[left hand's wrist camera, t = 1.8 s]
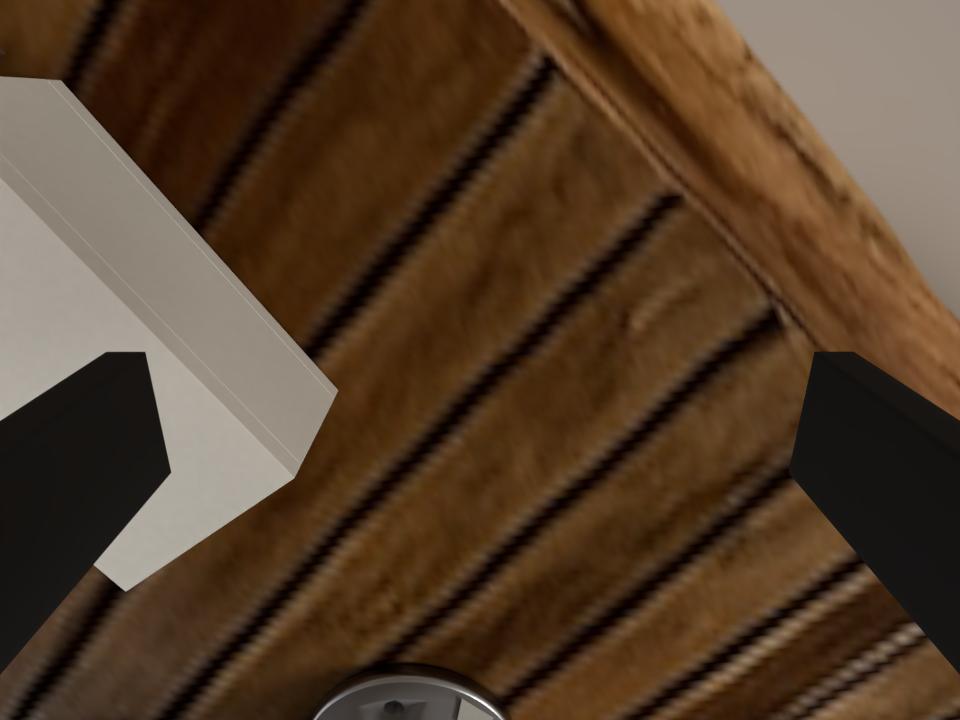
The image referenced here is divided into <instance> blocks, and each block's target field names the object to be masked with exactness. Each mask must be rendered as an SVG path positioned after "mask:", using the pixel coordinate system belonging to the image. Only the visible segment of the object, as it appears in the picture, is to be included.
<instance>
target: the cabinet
mask: <svg viewBox="0 0 960 720" xmlns="http://www.w3.org/2000/svg"><path fill="white" fill-rule="evenodd" d="M105 352H146V357H147V362H148V366H149V371H150V376H151V380H152V385H153V390H154V394H155V399H156V403H157V408H158V413H159V417H160V422H161V427H162V431H163V436H164V441H165V445H166V450H167V454H168V459H169V464H170V468H171V474H170V475H169V476H168V477H167V478H166V480H165V481H164V482H163V483H162V484H161V486H160V487H159V488H158V489H157V490H156V491H155V493H154V494H153V495H152V496H151V497H150V498H149V500H148V501H147V502H146V503H145V504H144V506H143V507H142V508H141V509H140V510H139V511H138V513H137V514H136V515H135V516H134V517H133V519H132V520H131V521H130V522H129V523H128V524H127V526H126V527H125V528H124V529H123V530H122V532H121V533H120V534H119V535H118V536H117V537H116V539H115V540H114V541H113V542H112V543H111V544H110V546H109V547H108V548H107V549H106V550H105V552H104V553H103V554H102V555H101V556H100V557H99V559H98V560H97V561H96V562H95V563H94V566H96V567H97V568H98V569H99V570H100V571H102V572H103V573H104V574H105V575H106V576H108V577H109V578H110V579H111V580H112V581H114V582H115V583H116V584H117V585H118V586H120V587H121V588H122V589H123V590H124V591H127V590H129V589H130V588H132V587H133V586H135V585H136V584H138V583H139V582H141V581H142V580H144V579H145V578H147V577H148V576H150V575H151V574H153V573H154V572H156V571H157V570H159V569H160V568H162V567H163V566H165V565H166V564H168V563H169V562H171V561H172V560H173V559H175V558H176V557H178V556H179V555H181V554H182V553H184V552H185V551H187V550H188V549H190V548H191V547H193V546H194V545H196V544H197V543H199V542H200V541H202V540H203V539H205V538H206V537H208V536H209V535H211V534H212V533H214V532H215V531H217V530H218V529H219V528H221V527H222V526H224V525H225V524H227V523H228V522H230V521H231V520H233V519H234V518H236V517H237V516H239V515H240V514H242V513H243V512H245V511H246V510H248V509H249V508H251V507H252V506H254V505H255V504H257V503H258V502H260V501H261V500H263V499H264V498H265V497H267V496H268V495H270V494H271V493H273V492H274V491H276V490H277V489H279V488H280V487H282V486H283V485H285V484H286V483H288V482H289V481H291V480H292V479H294V478H295V476H296V474H297V472H298V470H299V468H300V466H301V464H302V462H303V460H304V458H305V456H306V454H307V452H308V450H309V448H310V446H311V444H312V442H313V440H314V438H315V436H316V434H317V432H318V430H319V428H320V426H321V424H322V422H323V420H324V418H325V416H326V414H327V412H328V410H329V408H330V406H331V404H332V402H333V400H334V398H335V396H336V394H337V392H338V390H337V388H336V387H335V386H334V385H333V384H332V383H331V382H330V381H329V379H328V378H327V377H326V376H325V375H324V374H323V373H322V372H321V371H320V369H319V368H318V367H317V366H316V365H315V364H314V363H313V362H312V360H311V359H310V358H309V357H308V356H307V355H306V354H305V353H304V352H303V350H302V349H301V348H300V347H299V346H298V345H297V344H296V343H295V341H294V340H293V339H292V338H291V337H290V336H289V335H288V334H287V333H286V331H285V330H284V329H283V328H282V327H281V326H280V325H279V324H278V322H277V321H276V320H275V319H274V318H273V317H272V316H271V315H270V314H269V312H268V311H267V310H266V309H265V308H264V307H263V306H262V305H261V303H260V302H259V301H258V300H257V299H256V298H255V297H254V296H253V295H252V293H251V292H250V291H249V290H248V289H247V288H246V287H245V286H244V284H243V283H242V282H241V281H240V280H239V279H238V278H237V277H236V276H235V274H234V273H233V272H232V271H231V270H230V269H229V268H228V267H227V265H226V264H225V263H224V262H223V261H222V260H221V259H220V258H219V257H218V255H217V254H216V253H215V252H214V251H213V250H212V249H211V248H210V246H209V245H208V244H207V243H206V242H205V241H204V240H203V239H202V238H201V236H200V235H199V234H198V233H197V232H196V231H195V230H194V229H193V227H192V226H191V225H190V224H189V223H188V222H187V221H186V220H185V219H184V217H183V216H182V215H181V214H180V213H179V212H178V211H177V210H176V208H175V207H174V206H173V205H172V204H171V203H170V202H169V201H168V200H167V198H166V197H165V196H164V195H163V194H162V193H161V192H160V191H159V189H158V188H157V187H156V186H155V185H154V184H153V183H152V182H151V181H150V179H149V178H148V177H147V176H146V175H145V174H144V173H143V172H142V170H141V169H140V168H139V167H138V166H137V165H136V164H135V163H134V162H133V160H132V159H131V158H130V157H129V156H128V155H127V154H126V153H125V151H124V150H123V149H122V148H121V147H120V146H119V145H118V144H117V143H116V141H115V140H114V139H113V138H112V137H111V136H110V135H109V134H108V132H107V131H106V130H105V129H104V128H103V127H102V126H101V125H100V124H99V122H98V121H97V120H96V119H95V118H94V117H93V116H92V115H91V113H90V112H89V111H88V110H87V109H86V108H85V107H84V106H83V105H82V103H81V102H80V101H79V100H78V99H77V98H76V97H75V96H74V94H73V93H72V92H71V91H70V90H69V89H68V88H67V87H66V86H65V84H64V83H63V82H62V81H61V80H49V79H47V80H46V79H36V78H19V77H2V76H0V421H1V420H2V419H4V418H5V417H7V416H8V415H10V414H11V413H13V412H14V411H16V410H18V409H19V408H21V407H22V406H24V405H25V404H27V403H28V402H30V401H31V400H33V399H34V398H36V397H38V396H39V395H41V394H42V393H44V392H45V391H47V390H48V389H50V388H51V387H53V386H54V385H56V384H58V383H59V382H61V381H62V380H64V379H65V378H67V377H68V376H70V375H71V374H73V373H74V372H76V371H78V370H79V369H81V368H82V367H84V366H85V365H87V364H88V363H90V362H91V361H93V360H94V359H96V358H97V357H99V356H101V355H102V354H104V353H105Z"/></svg>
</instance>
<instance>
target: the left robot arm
mask: <svg viewBox="0 0 960 720" xmlns="http://www.w3.org/2000/svg"><path fill="white" fill-rule="evenodd" d="M170 474H171V468H170V464H169V459H168V454H167V450H166V445H165V441H164V436H163V431H162V427H161V422H160V417H159V413H158V408H157V403H156V399H155V394H154V390H153V385H152V380H151V376H150V371H149V366H148V362H147V357H146V352H105V353H104V354H102V355H101V356H99V357H97V358H96V359H94V360H93V361H91V362H90V363H88V364H87V365H85V366H84V367H82V368H81V369H79V370H78V371H76V372H74V373H73V374H71V375H70V376H68V377H67V378H65V379H64V380H62V381H61V382H59V383H58V384H56V385H54V386H53V387H51V388H50V389H48V390H47V391H45V392H44V393H42V394H41V395H39V396H38V397H36V398H34V399H33V400H31V401H30V402H28V403H27V404H25V405H24V406H22V407H21V408H19V409H18V410H16V411H14V412H13V413H11V414H10V415H8V416H7V417H5V418H4V419H2V420H1V421H0V674H1V673H2V672H3V671H4V670H5V668H6V667H7V666H8V665H9V664H10V662H11V661H12V660H13V659H14V658H15V657H16V655H17V654H18V653H19V652H20V651H21V649H22V648H23V647H24V646H25V645H26V644H27V642H28V641H29V640H30V639H31V638H32V636H33V635H34V634H35V633H36V632H37V631H38V629H39V628H40V627H41V626H42V625H43V624H44V622H45V621H46V620H47V619H48V618H49V616H50V615H51V614H52V613H53V612H54V611H55V609H56V608H57V607H58V606H59V605H60V603H61V602H62V601H63V600H64V599H65V598H66V596H67V595H68V594H69V593H70V592H71V590H72V589H73V588H74V587H75V586H76V585H77V583H78V582H79V581H80V580H81V579H82V578H83V576H84V575H85V574H86V573H87V572H88V570H89V569H90V568H91V567H92V566H93V565H94V563H95V562H96V561H97V560H98V559H99V557H100V556H101V555H102V554H103V553H104V552H105V550H106V549H107V548H108V547H109V546H110V544H111V543H112V542H113V541H114V540H115V539H116V537H117V536H118V535H119V534H120V533H121V532H122V530H123V529H124V528H125V527H126V526H127V524H128V523H129V522H130V521H131V520H132V519H133V517H134V516H135V515H136V514H137V513H138V511H139V510H140V509H141V508H142V507H143V506H144V504H145V503H146V502H147V501H148V500H149V498H150V497H151V496H152V495H153V494H154V493H155V491H156V490H157V489H158V488H159V487H160V486H161V484H162V483H163V482H164V481H165V480H166V478H167V477H168V476H169V475H170ZM789 474H790V475H791V476H792V477H793V478H794V480H795V481H796V482H797V483H798V484H799V486H800V487H801V488H802V489H803V490H804V491H805V493H806V494H807V495H808V496H809V497H810V498H811V500H812V501H813V502H814V503H815V504H816V506H817V507H818V508H819V509H820V510H821V511H822V513H823V514H824V515H825V516H826V517H827V519H828V520H829V521H830V522H831V523H832V524H833V526H834V527H835V528H836V529H837V530H838V532H839V533H840V534H841V535H842V536H843V537H844V539H845V540H846V541H847V542H848V543H849V544H850V546H851V547H852V548H853V549H854V550H855V552H856V553H857V554H858V555H859V556H860V557H861V559H862V560H863V561H864V562H865V563H866V565H867V566H868V567H869V568H870V569H871V570H872V572H873V573H874V574H875V575H876V576H877V578H878V579H879V580H880V581H881V582H882V583H883V585H884V586H885V587H886V588H887V589H888V590H889V592H890V593H891V594H892V595H893V596H894V598H895V599H896V600H897V601H898V602H899V603H900V605H901V606H902V607H903V608H904V609H905V611H906V612H907V613H908V614H909V615H910V616H911V618H912V619H913V620H914V621H915V622H916V624H917V625H918V626H919V627H920V628H921V629H922V631H923V632H924V633H925V634H926V635H927V636H928V638H929V639H930V640H931V641H932V642H933V644H934V645H935V646H936V647H937V648H938V649H939V651H940V652H941V653H942V654H943V655H944V657H945V658H946V659H947V660H948V661H949V662H950V664H951V665H952V666H953V667H954V668H955V670H956V671H957V672H958V673H959V674H960V421H959V420H958V419H956V418H955V417H953V416H952V415H950V414H949V413H947V412H946V411H944V410H942V409H941V408H939V407H938V406H936V405H935V404H933V403H932V402H930V401H929V400H927V399H926V398H924V397H922V396H921V395H919V394H918V393H916V392H915V391H913V390H912V389H910V388H909V387H907V386H906V385H904V384H902V383H901V382H899V381H898V380H896V379H895V378H893V377H892V376H890V375H889V374H887V373H886V372H884V371H882V370H881V369H879V368H878V367H876V366H875V365H873V364H872V363H870V362H869V361H867V360H866V359H864V358H863V357H861V356H859V355H858V354H856V353H855V352H814V357H813V362H812V366H811V371H810V376H809V380H808V385H807V390H806V394H805V399H804V403H803V408H802V413H801V417H800V422H799V427H798V431H797V436H796V441H795V445H794V450H793V454H792V459H791V464H790V468H789ZM311 720H512V718H511V717H510V715H509V713H508V711H507V710H506V708H505V707H504V705H503V704H502V703H501V702H500V701H499V700H498V699H497V698H496V697H495V696H494V695H493V694H492V693H491V692H490V691H488V690H487V689H486V688H484V687H483V686H481V685H480V684H478V683H476V682H474V681H472V680H471V679H469V678H466V677H464V676H462V675H459V674H456V673H453V672H450V671H447V670H443V669H439V668H433V667H426V666H412V665H403V666H390V667H383V668H378V669H374V670H370V671H367V672H364V673H361V674H358V675H356V676H354V677H351V678H349V679H347V680H346V681H344V682H342V683H341V684H339V685H338V686H336V687H335V688H334V689H332V690H331V691H330V692H329V693H328V694H327V695H326V696H325V697H324V698H323V699H322V700H321V702H320V703H319V705H318V706H317V708H316V710H315V712H314V714H313V716H312V719H311Z"/></svg>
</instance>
